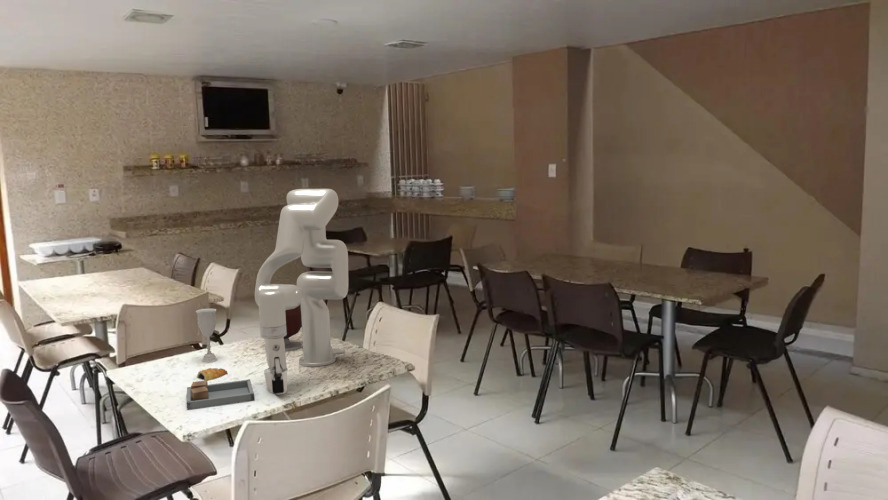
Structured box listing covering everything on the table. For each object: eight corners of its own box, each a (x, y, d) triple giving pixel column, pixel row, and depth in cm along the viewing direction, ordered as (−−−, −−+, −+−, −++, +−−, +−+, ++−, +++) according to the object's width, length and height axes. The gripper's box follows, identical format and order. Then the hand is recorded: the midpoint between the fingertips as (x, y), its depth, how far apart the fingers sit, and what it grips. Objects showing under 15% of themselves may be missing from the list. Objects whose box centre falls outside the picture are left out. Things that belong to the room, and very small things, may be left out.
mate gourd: (270, 354, 237) (266, 300, 235) (263, 345, 250) (260, 294, 247) (312, 348, 243) (309, 296, 241) (304, 340, 256) (301, 290, 253)
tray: (250, 388, 200) (250, 379, 199) (254, 403, 187) (254, 393, 186) (187, 397, 193) (186, 387, 193) (187, 413, 180) (186, 402, 180)
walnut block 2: (206, 399, 188) (205, 386, 187) (209, 403, 185) (208, 390, 184) (191, 402, 186) (190, 389, 185) (194, 406, 182) (193, 393, 182)
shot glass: (282, 396, 192) (281, 373, 191) (261, 395, 193) (259, 372, 192) (292, 388, 199) (291, 366, 198) (271, 387, 200) (270, 365, 199)
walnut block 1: (208, 393, 193) (207, 380, 193) (206, 398, 189) (205, 384, 189) (193, 394, 192) (193, 381, 192) (191, 399, 188) (190, 386, 188)
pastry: (220, 373, 216) (219, 362, 216) (232, 377, 212) (232, 366, 212) (194, 381, 209) (194, 369, 208) (206, 385, 205) (206, 373, 204)
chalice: (224, 359, 232) (221, 309, 230) (208, 364, 226) (204, 313, 224) (210, 356, 236) (207, 307, 234) (194, 361, 230) (191, 311, 228)
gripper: (290, 336, 187) (293, 396, 189) (282, 323, 203) (285, 378, 205) (263, 339, 184) (267, 400, 187) (257, 325, 200) (261, 382, 203)
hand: (276, 388), depth 196 cm, fingers closed on shot glass, 6 cm apart
